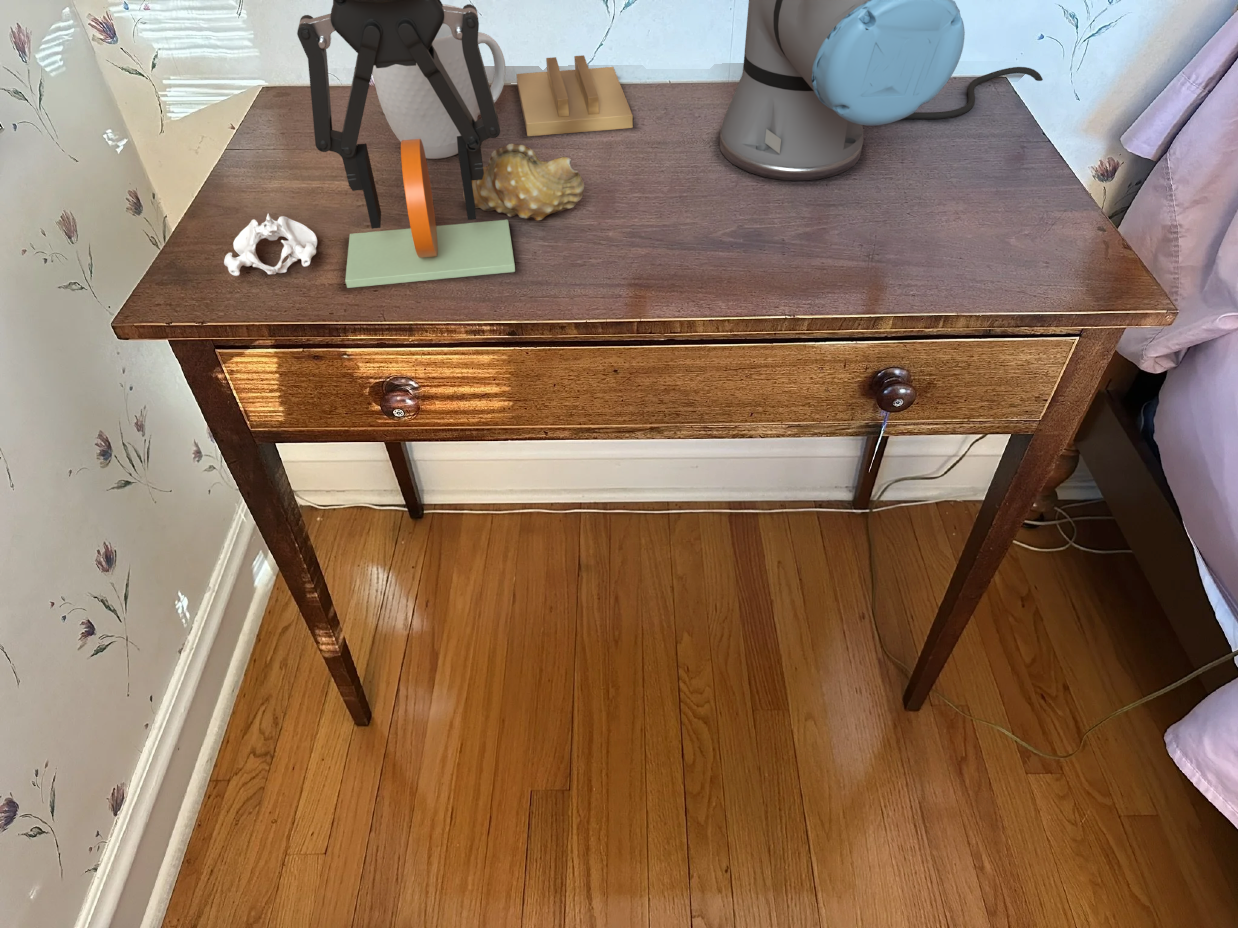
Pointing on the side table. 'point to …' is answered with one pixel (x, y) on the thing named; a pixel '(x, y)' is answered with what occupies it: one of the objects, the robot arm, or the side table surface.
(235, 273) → the anatomical pelvis
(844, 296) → the side table surface
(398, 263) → the mat
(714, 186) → the side table surface
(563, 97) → the rack
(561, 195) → the seashell
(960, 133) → the side table surface
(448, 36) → the mug
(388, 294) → the side table surface
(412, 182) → the disc
